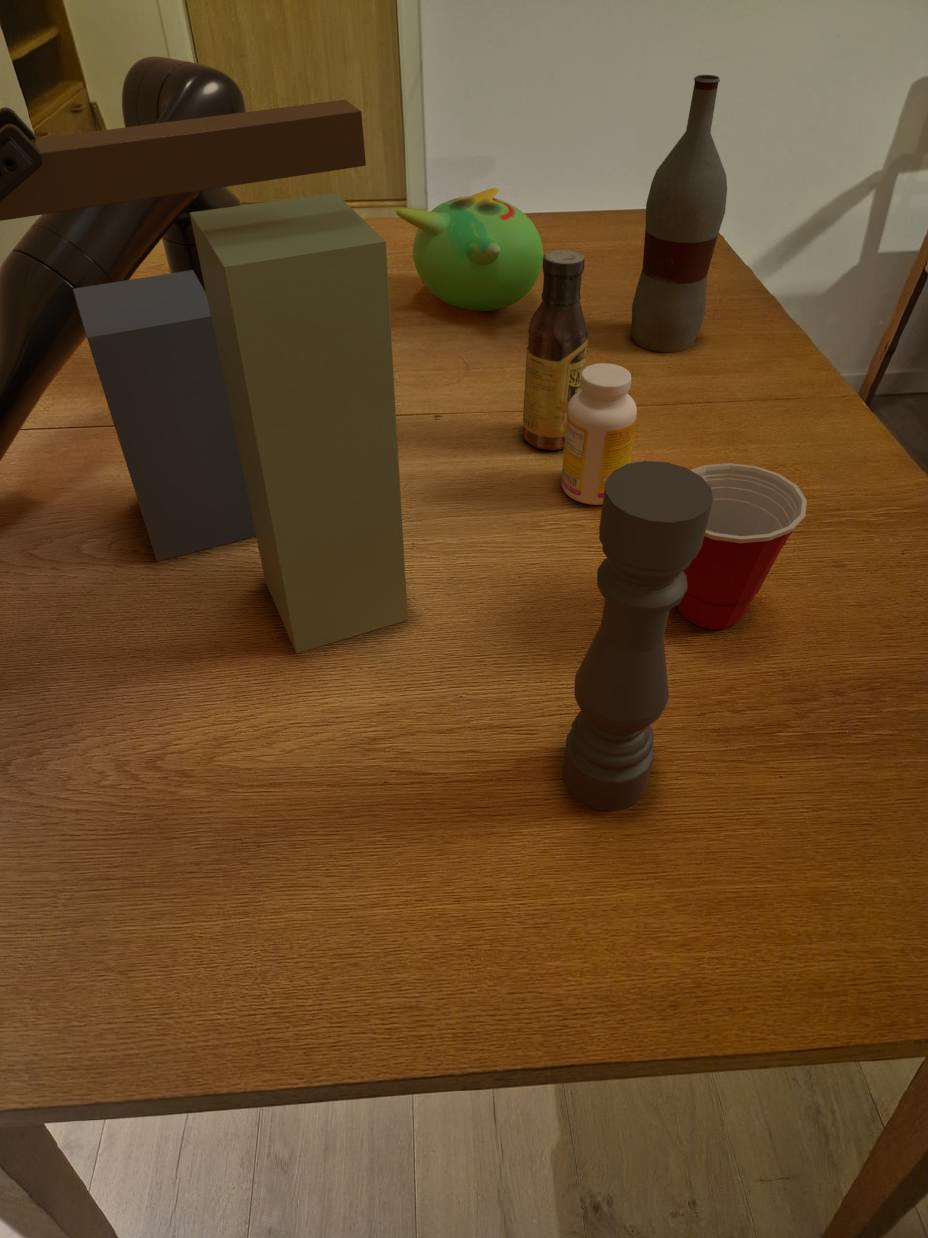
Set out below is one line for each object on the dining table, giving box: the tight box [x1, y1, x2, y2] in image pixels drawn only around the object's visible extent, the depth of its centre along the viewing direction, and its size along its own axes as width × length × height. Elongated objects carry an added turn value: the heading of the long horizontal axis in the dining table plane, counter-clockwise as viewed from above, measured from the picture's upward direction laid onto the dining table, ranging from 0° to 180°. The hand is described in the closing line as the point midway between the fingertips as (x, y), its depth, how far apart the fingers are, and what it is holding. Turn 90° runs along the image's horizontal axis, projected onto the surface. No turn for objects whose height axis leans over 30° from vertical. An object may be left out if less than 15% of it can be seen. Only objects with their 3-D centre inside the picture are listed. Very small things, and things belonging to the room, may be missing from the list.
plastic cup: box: [677, 462, 808, 630], centre depth 72 cm, size 11×11×12 cm
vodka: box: [631, 74, 728, 354], centre depth 104 cm, size 9×9×30 cm
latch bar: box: [0, 99, 367, 222], centre depth 49 cm, size 24×3×3 cm, turn 114°
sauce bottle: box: [522, 248, 589, 451], centre depth 90 cm, size 6×6×20 cm
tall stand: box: [190, 192, 409, 654], centre depth 66 cm, size 10×10×32 cm
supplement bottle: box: [561, 362, 638, 506], centre depth 85 cm, size 7×7×13 cm
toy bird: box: [395, 187, 544, 312], centre depth 117 cm, size 18×17×15 cm
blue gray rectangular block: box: [73, 270, 256, 562], centre depth 78 cm, size 10×10×22 cm
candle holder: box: [561, 460, 713, 812], centre depth 54 cm, size 6×6×25 cm
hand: (25, 132), depth 46 cm, fingers closed on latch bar, 3 cm apart
